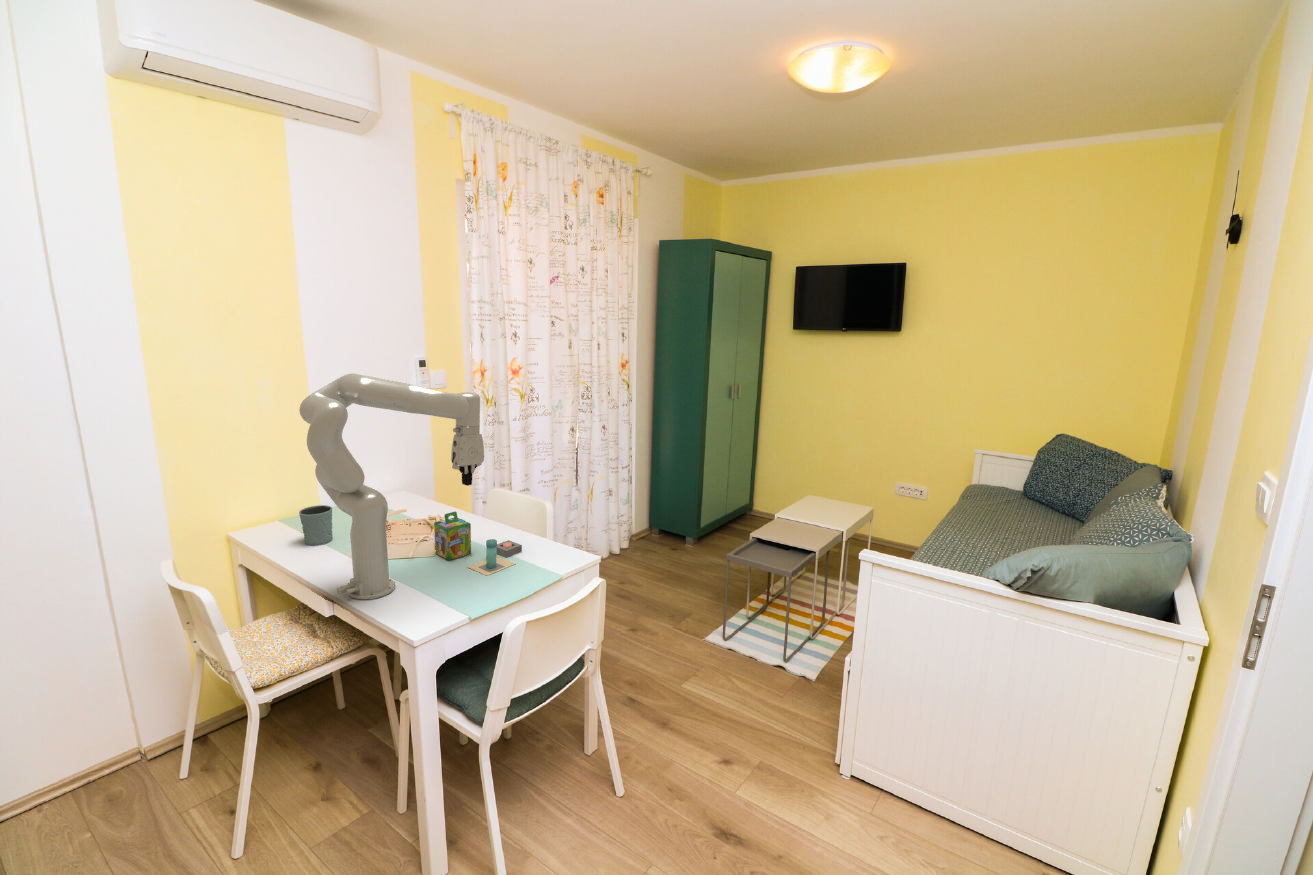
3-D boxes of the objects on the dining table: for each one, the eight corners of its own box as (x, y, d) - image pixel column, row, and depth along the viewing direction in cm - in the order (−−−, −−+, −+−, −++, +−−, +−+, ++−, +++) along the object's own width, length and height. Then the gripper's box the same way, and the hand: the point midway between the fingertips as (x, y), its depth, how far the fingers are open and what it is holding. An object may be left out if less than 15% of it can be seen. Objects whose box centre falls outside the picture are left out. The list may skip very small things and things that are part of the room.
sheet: (487, 575, 188) (487, 575, 188) (467, 567, 194) (467, 566, 194) (515, 564, 198) (515, 563, 198) (496, 556, 203) (496, 555, 203)
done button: (507, 553, 205) (506, 546, 205) (501, 550, 207) (501, 544, 206) (513, 550, 208) (513, 543, 207) (508, 548, 209) (507, 541, 209)
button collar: (506, 557, 203) (506, 550, 202) (493, 552, 206) (492, 545, 206) (521, 551, 208) (521, 544, 208) (508, 546, 212) (508, 540, 212)
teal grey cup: (340, 537, 215) (338, 506, 212) (322, 547, 205) (319, 515, 202) (314, 535, 216) (311, 504, 213) (295, 545, 206) (292, 513, 203)
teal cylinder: (490, 569, 192) (490, 544, 190) (483, 566, 194) (484, 541, 192) (498, 566, 194) (499, 541, 193) (492, 563, 197) (492, 538, 195)
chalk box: (448, 561, 198) (446, 519, 195) (434, 553, 204) (432, 513, 201) (472, 553, 205) (471, 513, 202) (458, 546, 211) (456, 507, 208)
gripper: (455, 434, 184) (454, 490, 187) (493, 430, 196) (492, 483, 199) (440, 430, 188) (440, 485, 191) (479, 426, 200) (478, 479, 203)
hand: (466, 484), depth 195 cm, fingers closed
